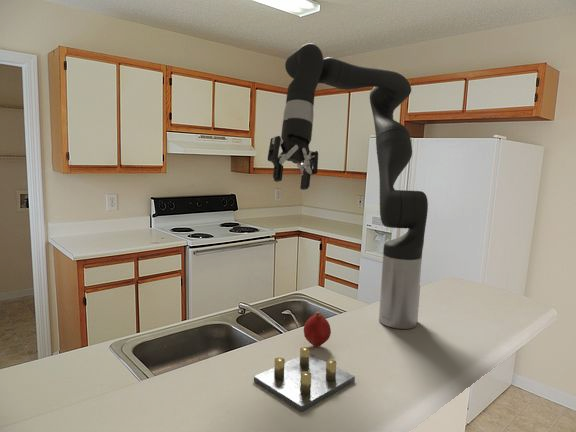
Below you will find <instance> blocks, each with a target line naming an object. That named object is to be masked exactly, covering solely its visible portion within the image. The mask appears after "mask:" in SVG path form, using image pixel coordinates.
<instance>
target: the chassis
mask: <svg viewBox="0 0 576 432" xmlns="http://www.w3.org/2000/svg"><path fill="white" fill-rule="evenodd" d="M355 378H356V376H355V375H353V374H351V373H349V372H348V371H345V370H343V369H341V368H339V367H337V361H336V360H335V359H327V360H326V361H325V360H323V359H321V358H319V357H317V356H315V355H312V354H311V353H310V347H308V346H301V347H300V349H299V356H297V357H295V358H292V359H290V360H288V361H286V362H285V358H283V357H280V356H279V357H276V358H274V367H272V368H270V369H268V370H265V371H263V372H261V373H258V374H255V375H254V376H253V382H254V383H255V384H257V385H259V386H260V387H262V388H263V389H265V390H267V392H268V393H269V392H270V393H271V394H272V395H274V396H276V397H277V398H279V399H280V400H282V399H283V400H284V402H286V403H287V404H288V403H289V404H288V405H290V406H291V405H292V407H293V406H294V407H295V408H294V407H293V408H294V409H296V410H297V409H298V411H299V412H301V413H302V412H305V411H306V410H307V409H309V408H311V407H312V406H315V405H316V404H318V403H320V402H322V401H324V400H325V399H327V398H329V397H330V396H332V395H333V394H335V393H337V392H339V391H341V390H342V389H344V388H345V387H347V386H350V385H351V384H353V383H354V382H355V381H356V379H355ZM283 400H282V401H283Z"/></svg>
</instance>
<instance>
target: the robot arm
mask: <svg viewBox="0 0 576 432" xmlns="http://www.w3.org/2000/svg"><path fill="white" fill-rule="evenodd" d="M284 64H285V65H284V67H285V71H286V72H287V75H288V76H289V77H291V79H292V81H291V82H290V84H289V85H288V87H287V92H286V101H285V106H284V111H283V118H282V126H281V136H280V135H277V136H273V137H271V138H270V142H269V148H268V153H267V161H268V162H270V163H272V164H273V172H272V173H273V174H272V178H273V181H274V182H276V183H278V182H282V180H283V175H284V165H283V164H284V163H285V162H286V161H287V162H291V163H293V164H296V165H297V166H296V167H297V168H299V169H300V172H301V177H300V190H303V191H305V190H308V189H309V188H310V184H311V183H310V182H311V176H312V175H316V174H318V166H319V151H317V150H315V151H312V150H310V147H309V146H310V143H311V142H312V136H313V134H312V133H313V124H314V116H315V115H314V105H315V103H314V102H315V94H316V93H315V92H316V89H317V87H318V84H325V85H326V86H330V87H333V88H337V89H339V90H344V91H345V90H347V91H348V90H357V89H363V88H364V89H365V88H372V87H373V88H372V89H371V91H370V92H369V103H370V108H371V113H372V116H373V117H372V118H373V124H374V130H375V146H376V147H375V149H376V156H377V163H378V164H377V165H378V174H379V216H380V217H379V218H380V222H381V224H382V225H383V226H384V227H385V228H390V229H407V232H406V233H404V234H403V235H401V236H399V237H397V238H394V239H391V240H388V241H386V242H385V243H384V244H383V252H382V253H383V254H382V267H381V283H380V299H379V314H378V321H379V323H380V324H383V326H386V327H388V328H393V329H401V330H408V329H409V330H410V329H413V328H415V327H416V326H417V322H418V320H419V319H418V318H419V306H420V296H421V295H420V293H421V292H420V291H421V276H422V275H421V272H422V258H423V250H424V243H425V235H426V234H425V233H426V227H427V226H426V225H427V218H428V210H429V201H428V197H427V195H426V193H425V192H423V191H421V190H402V189H399V190H398V189H395V188H394V186H395V183H396V181H397V179H398V177H399V176H400V174H401V173H402V172H403V171H404V169H405V168H406V167H407V166H408V164H409V162H410V161H411V159H412V157H413V146H412V139H411V134H410V131H409V130H408V128H407V127H406V126H405V125H403V124H402V123H401V122H398V121H397V120H396V119H395V120H394V111H395V110H396V109H398V107H399V106H400V105H401V104H402V103H403V102H404V101H405V100H407V98H408V97H409V96H410V95H411V93H412V87H411V86H412V85H411V83H410V82H409V80H408V79H407V78H406V77H405V76H404V75H402V74H401V73H399V72H396V71H393V70H388V69H381V68H380V69H379V68H374V67H366V66H361V65H356V64H353V63H350V62H347V61H343V60H341V59H338V58H336V57H332V56H328V57H325V58H324V56H323V52H322V50H321V49H320V47H319V46H318V45H316V44H315V43H306V44H303V45H302V46H300V47H299V48H298V49H297V50H296V51H294V52H293V53H291V54H290V55H289V56H288V57H287V58H286V60H285V63H284ZM280 148H281V152H279V151H280Z"/></svg>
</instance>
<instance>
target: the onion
mask: <svg viewBox="0 0 576 432" xmlns="http://www.w3.org/2000/svg"><path fill="white" fill-rule="evenodd" d="M331 330H332V329H331V325H330V323H329V321H328V320H327V318H325V317H324V316H323V315H322V314H321V312H320V311H316V313H315V314H313V315H311V316H310V317H309V318H308V319H307V320H306V321H305V323H304V325H303V334H304V338H305V339H306V341H307V342H309V344H310V345H312V346H313V347H314V348H320V347H321V346H322V345H324V344H325V343H326V342H327V341H328V340H330V337H331V334H332V331H331Z"/></svg>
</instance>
